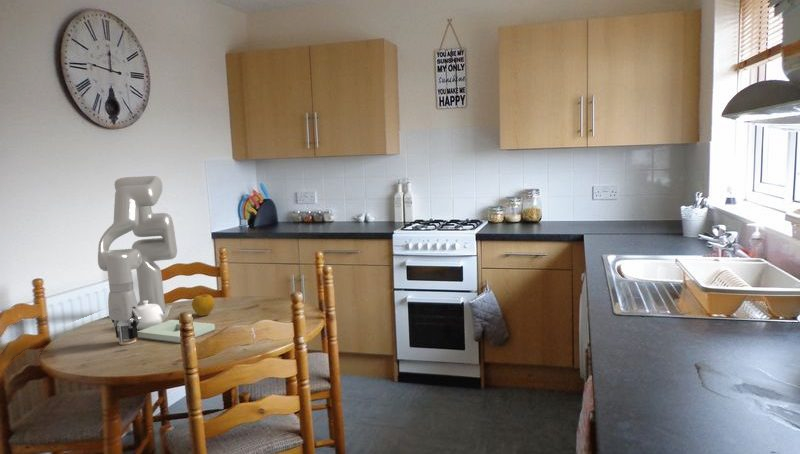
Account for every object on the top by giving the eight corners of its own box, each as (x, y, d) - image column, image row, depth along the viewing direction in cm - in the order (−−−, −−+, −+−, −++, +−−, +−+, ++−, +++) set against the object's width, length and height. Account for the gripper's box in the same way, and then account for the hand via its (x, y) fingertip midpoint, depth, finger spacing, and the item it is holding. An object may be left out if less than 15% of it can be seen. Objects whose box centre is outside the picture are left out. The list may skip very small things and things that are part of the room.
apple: (206, 319, 230) (204, 297, 229) (188, 318, 233) (185, 296, 232) (220, 312, 239) (218, 291, 238) (202, 312, 242) (200, 291, 241)
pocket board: (137, 338, 209) (136, 331, 209) (172, 325, 224) (171, 319, 223) (181, 343, 200) (181, 337, 199) (215, 330, 214) (214, 323, 214)
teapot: (181, 320, 231) (178, 295, 229) (167, 329, 218) (164, 303, 217) (132, 322, 231) (129, 298, 230) (116, 332, 219) (112, 306, 218)
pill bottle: (139, 339, 207) (136, 313, 206) (130, 345, 201) (127, 317, 200) (124, 340, 208) (121, 313, 206) (115, 345, 202) (112, 318, 201)
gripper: (95, 288, 202) (101, 338, 205) (129, 291, 195) (135, 343, 197) (114, 284, 209) (119, 332, 211) (147, 286, 202) (153, 336, 204)
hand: (127, 337), depth 204 cm, fingers closed on pill bottle, 5 cm apart
